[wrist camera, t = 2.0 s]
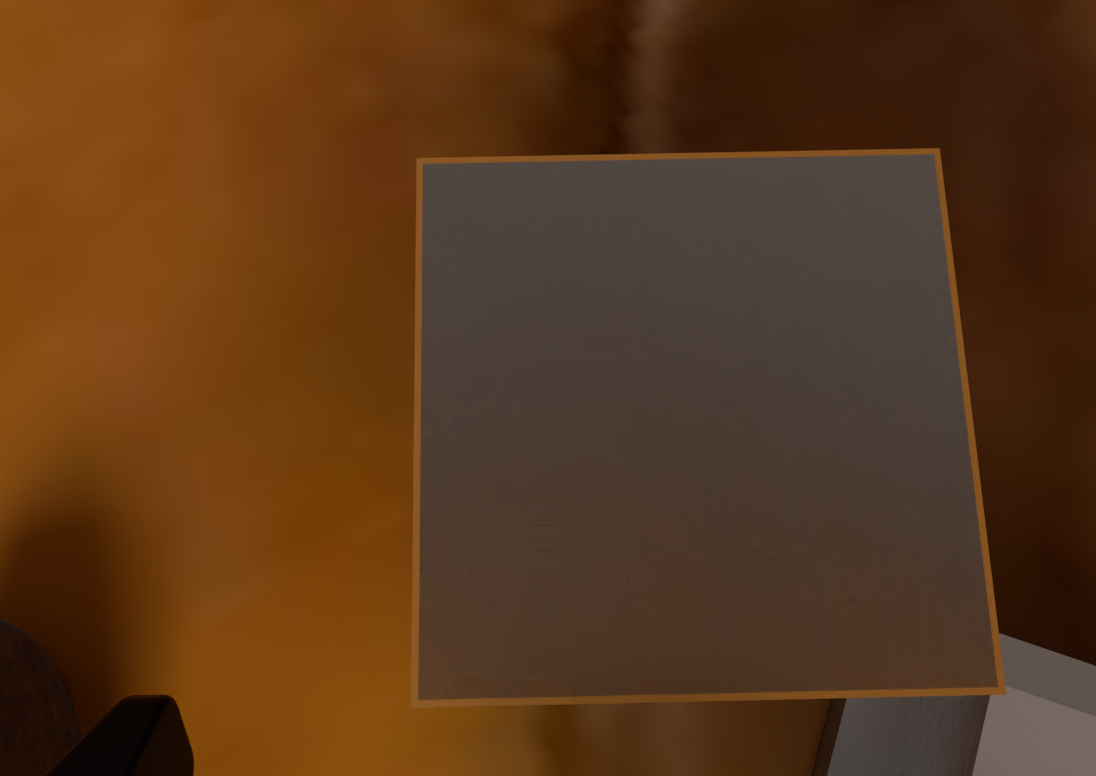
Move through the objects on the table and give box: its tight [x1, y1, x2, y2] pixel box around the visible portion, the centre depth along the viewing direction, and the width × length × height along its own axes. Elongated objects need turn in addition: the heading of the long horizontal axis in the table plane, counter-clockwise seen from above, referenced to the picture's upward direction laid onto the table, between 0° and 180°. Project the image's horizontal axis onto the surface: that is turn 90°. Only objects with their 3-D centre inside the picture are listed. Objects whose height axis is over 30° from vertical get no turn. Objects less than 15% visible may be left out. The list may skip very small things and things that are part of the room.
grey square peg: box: [411, 148, 1006, 708], centre depth 13 cm, size 4×4×12 cm
